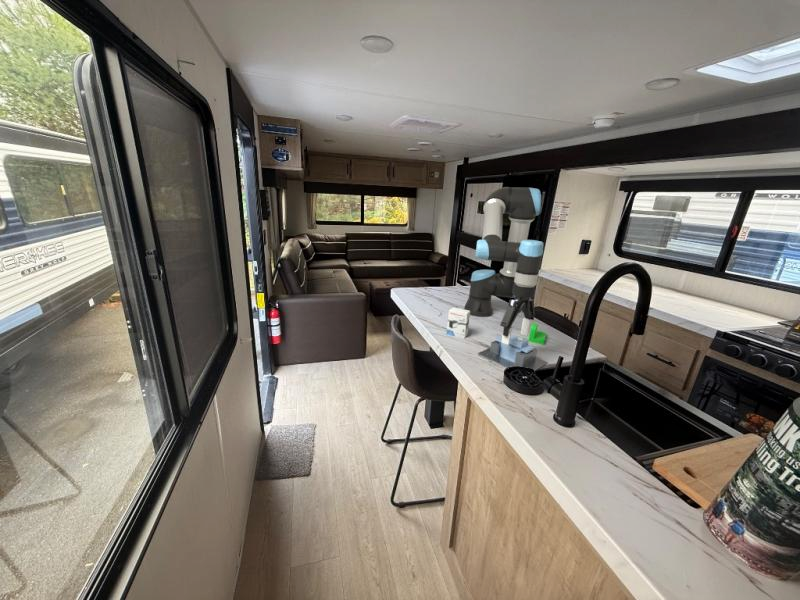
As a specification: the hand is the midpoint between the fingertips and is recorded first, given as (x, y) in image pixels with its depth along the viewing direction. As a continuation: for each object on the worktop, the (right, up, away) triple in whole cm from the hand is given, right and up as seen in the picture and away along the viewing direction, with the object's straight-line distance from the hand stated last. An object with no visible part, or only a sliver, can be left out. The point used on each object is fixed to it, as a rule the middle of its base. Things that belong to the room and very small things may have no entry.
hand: (515, 339), depth 116 cm
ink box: (-18, -1, +21) cm, 28 cm away
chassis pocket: (-1, -8, +2) cm, 8 cm away
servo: (-1, -7, +2) cm, 7 cm away
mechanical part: (+19, -3, +22) cm, 29 cm away
